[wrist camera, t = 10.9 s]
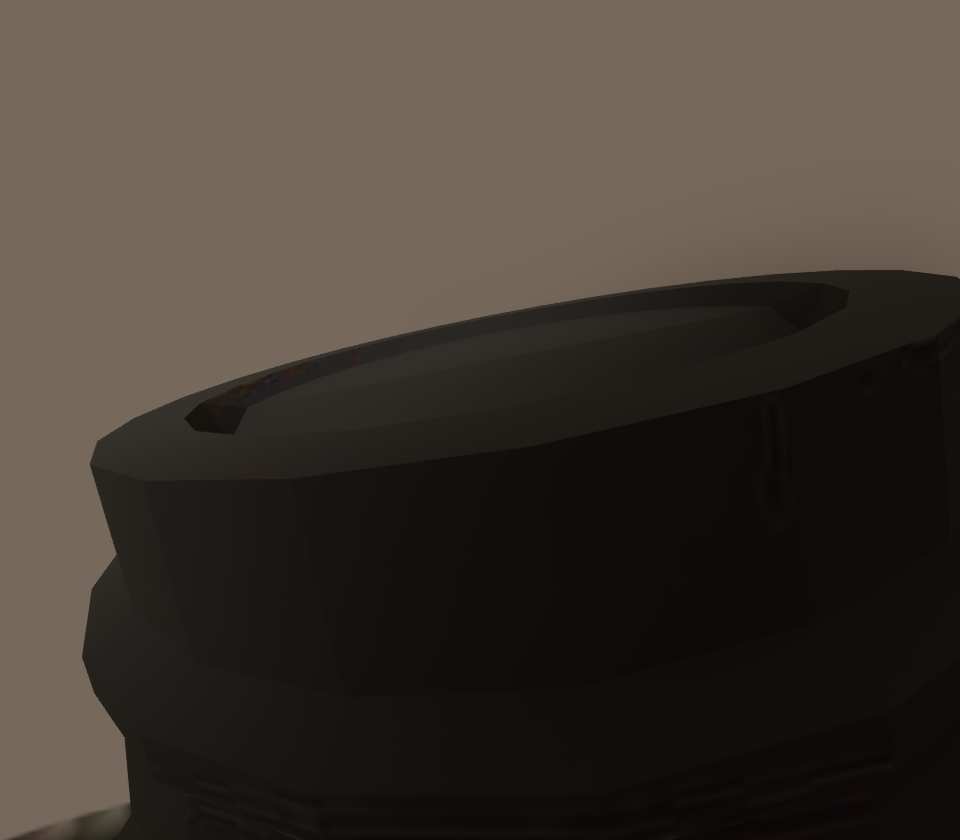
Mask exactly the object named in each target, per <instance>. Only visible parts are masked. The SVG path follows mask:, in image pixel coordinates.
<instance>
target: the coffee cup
mask: <svg viewBox="0 0 960 840" xmlns="http://www.w3.org/2000/svg"><path fill="white" fill-rule="evenodd" d="M90 466H91V470H92V473H93V477H94V480H95V483H96V487H97V490H98V493H99V496H100V500H101V503H102V506H103V510H104V513H105V516H106V520H107V523H108V527H109V530H110V533H111V537H112V540H113V543H114V547H115V550H116V553H117V555H116V556H115V558H114V559H113V560H112V562H111V563H110V565H109V566H108V567H107V569H106V570H105V571H104V573H103V574H102V576H101V577H100V578H99V580H98V581H97V582H96V584H95V585H94V587H93V588H92V592H91V599H90V606H89V613H88V620H87V627H86V634H85V641H84V648H83V655H82V658H83V661H84V664H85V667H86V670H87V673H88V676H89V679H90V682H91V684H92V688H93V690H94V693H95V695H96V696H97V698H98V699H99V701H100V702H101V704H102V705H103V707H104V708H105V710H106V711H107V712H108V714H109V715H110V717H111V718H112V720H113V721H114V723H115V724H116V726H117V727H118V728H119V730H120V731H121V733H122V734H123V736H124V737H125V746H126V758H127V770H128V781H129V792H130V803H131V814H132V816H133V818H134V819H135V821H136V823H137V825H138V826H139V828H140V830H141V832H142V833H143V835H144V837H145V838H146V840H960V279H959V278H957V277H953V276H945V275H937V274H929V273H920V272H912V271H904V270H835V271H821V272H820V271H819V272H805V273H788V274H772V275H762V276H752V277H742V278H733V279H722V280H712V281H704V282H696V283H688V284H681V285H674V286H665V287H658V288H649V289H643V290H636V291H629V292H623V293H616V294H610V295H603V296H596V297H590V298H584V299H578V300H572V301H567V302H561V303H555V304H549V305H543V306H538V307H532V308H527V309H522V310H517V311H511V312H506V313H501V314H495V315H490V316H485V317H480V318H475V319H471V320H465V321H461V322H456V323H451V324H447V325H441V326H437V327H433V328H428V329H424V330H419V331H414V332H410V333H406V334H401V335H397V336H392V337H388V338H384V339H380V340H376V341H372V342H368V343H363V344H359V345H355V346H351V347H347V348H343V349H339V350H336V351H332V352H328V353H324V354H321V355H317V356H313V357H309V358H306V359H302V360H299V361H295V362H291V363H287V364H284V365H281V366H277V367H274V368H271V369H268V370H264V371H261V372H258V373H254V374H251V375H248V376H244V377H241V378H238V379H234V380H232V381H229V382H226V383H223V384H220V385H217V386H214V387H212V388H208V389H206V390H203V391H200V392H197V393H194V394H191V395H188V396H186V397H183V398H180V399H178V400H176V401H173V402H171V403H169V404H166V405H164V406H162V407H159V408H157V409H155V410H152V411H150V412H148V413H145V414H143V415H141V416H138V417H136V418H134V419H132V420H130V421H129V422H128V423H126V424H124V425H123V426H121V427H119V428H118V429H116V430H115V431H113V432H111V433H110V434H108V435H107V436H105V437H103V438H102V439H100V440H99V441H97V444H96V447H95V450H94V453H93V456H92V459H91V462H90Z"/></svg>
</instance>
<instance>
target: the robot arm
mask: <svg viewBox="0 0 960 840" xmlns="http://www.w3.org/2000/svg"><path fill="white" fill-rule="evenodd" d="M116 840H146V838H145V837H144V835H143V833H142V832H141V830H140V828H139V826H138V825H137V823H136V821H135V819H134V818H133V816H132V814H131V816H130V817H129V819H128V821H127V822H126V824H125V825H124V827H123V829H122V830H121V832H120V833H119V835H118V836H117V838H116Z"/></svg>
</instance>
